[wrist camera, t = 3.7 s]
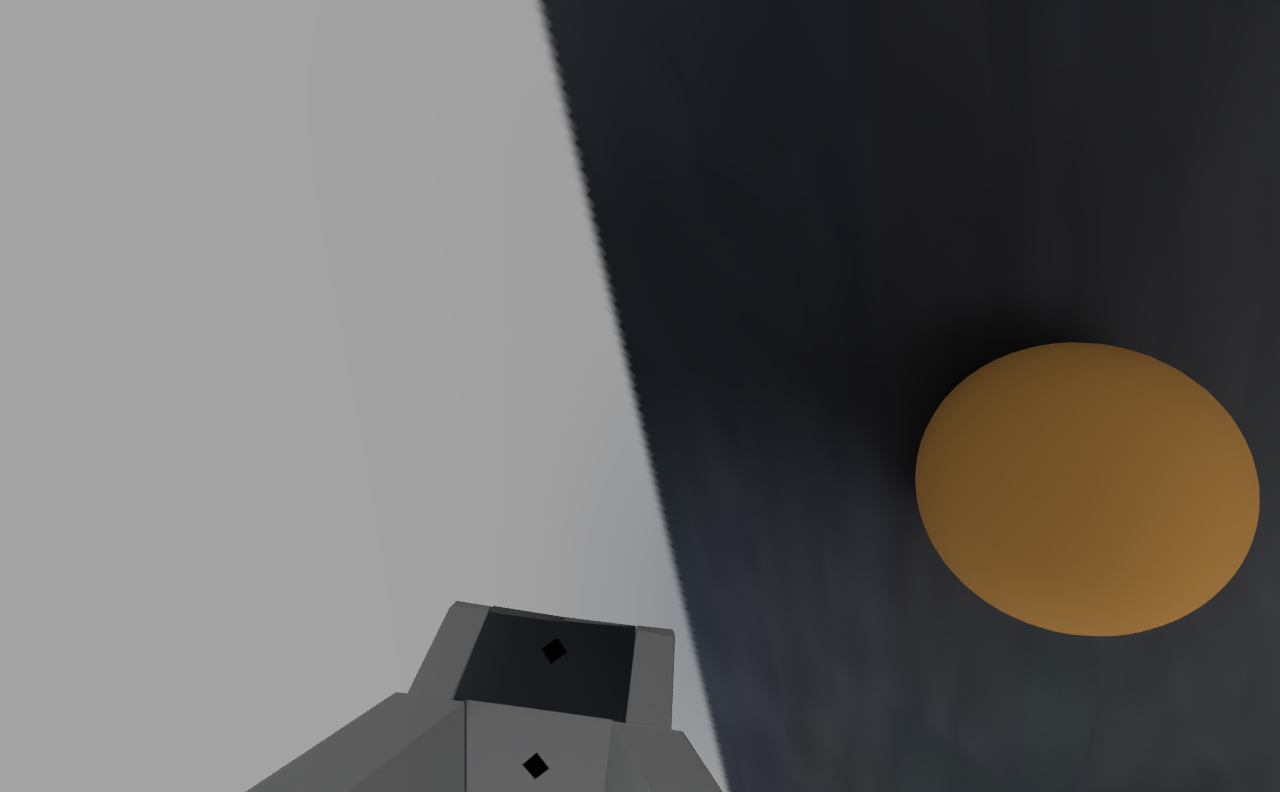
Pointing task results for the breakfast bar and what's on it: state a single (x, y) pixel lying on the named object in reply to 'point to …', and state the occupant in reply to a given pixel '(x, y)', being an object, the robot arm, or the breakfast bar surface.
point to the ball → (1087, 489)
